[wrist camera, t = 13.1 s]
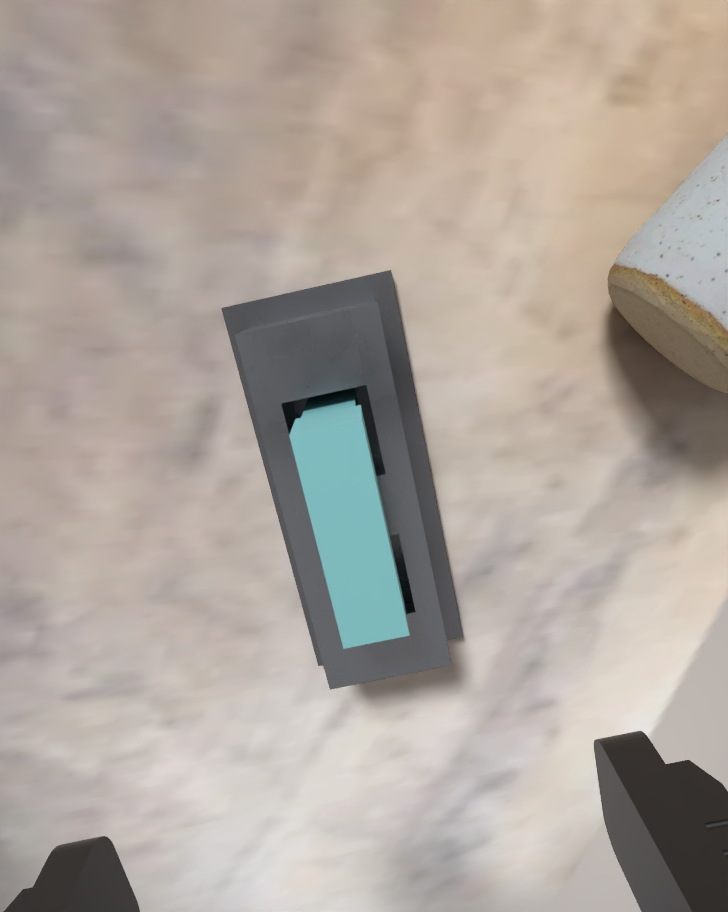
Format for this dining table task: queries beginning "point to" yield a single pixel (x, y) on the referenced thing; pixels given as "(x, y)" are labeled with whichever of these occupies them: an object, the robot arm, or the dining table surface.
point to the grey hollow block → (392, 446)
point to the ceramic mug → (682, 275)
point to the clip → (348, 519)
